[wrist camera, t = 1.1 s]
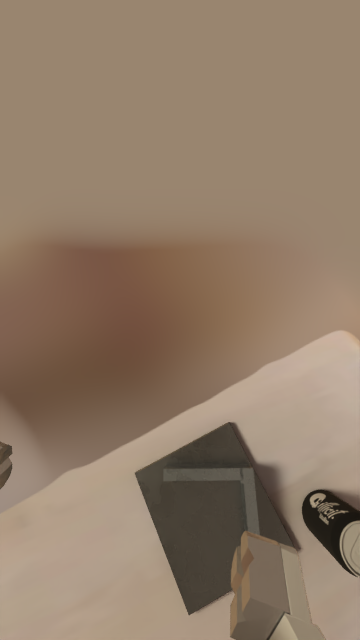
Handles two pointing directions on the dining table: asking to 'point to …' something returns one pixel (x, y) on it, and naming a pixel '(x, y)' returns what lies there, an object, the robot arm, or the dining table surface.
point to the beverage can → (334, 527)
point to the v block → (207, 512)
